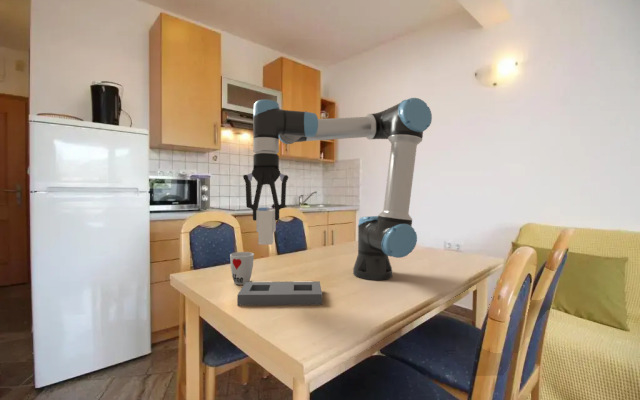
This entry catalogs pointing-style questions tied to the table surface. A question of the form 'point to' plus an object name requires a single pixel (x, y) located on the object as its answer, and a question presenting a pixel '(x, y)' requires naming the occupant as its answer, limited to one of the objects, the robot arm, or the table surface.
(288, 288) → the panel
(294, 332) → the table surface
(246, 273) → the cup
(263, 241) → the plug
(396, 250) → the robot arm
